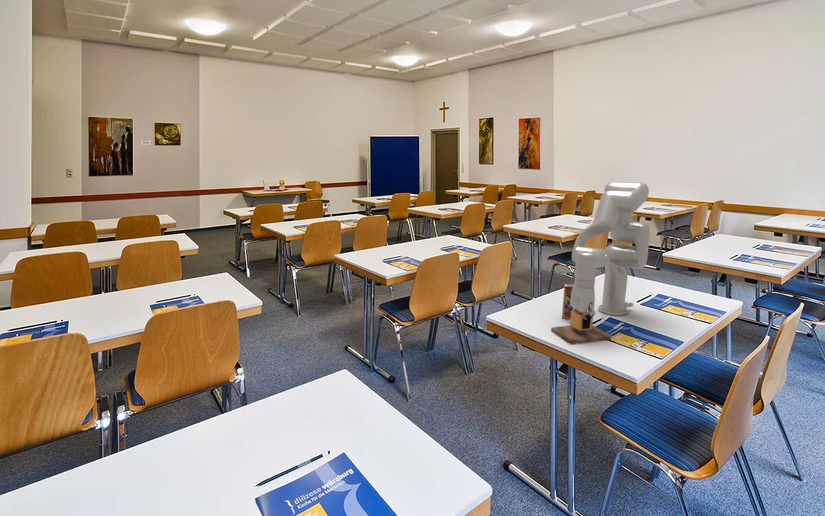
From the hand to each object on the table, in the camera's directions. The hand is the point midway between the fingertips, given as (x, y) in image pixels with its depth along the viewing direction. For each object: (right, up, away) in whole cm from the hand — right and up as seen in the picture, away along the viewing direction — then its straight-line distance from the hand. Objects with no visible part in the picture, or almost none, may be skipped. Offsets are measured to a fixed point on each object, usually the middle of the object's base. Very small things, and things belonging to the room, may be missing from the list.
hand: (580, 325), depth 185 cm
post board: (0, -4, +1) cm, 4 cm away
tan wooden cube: (0, -1, 0) cm, 1 cm away
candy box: (+3, 0, +20) cm, 20 cm away
